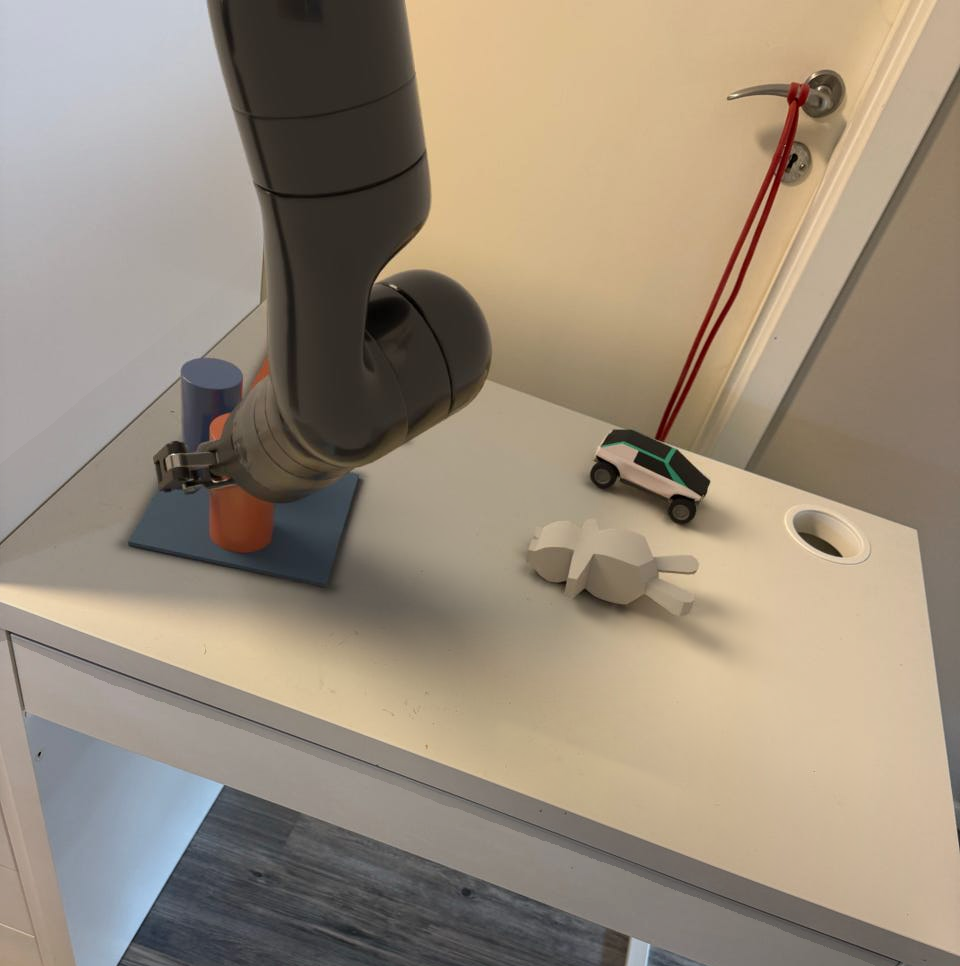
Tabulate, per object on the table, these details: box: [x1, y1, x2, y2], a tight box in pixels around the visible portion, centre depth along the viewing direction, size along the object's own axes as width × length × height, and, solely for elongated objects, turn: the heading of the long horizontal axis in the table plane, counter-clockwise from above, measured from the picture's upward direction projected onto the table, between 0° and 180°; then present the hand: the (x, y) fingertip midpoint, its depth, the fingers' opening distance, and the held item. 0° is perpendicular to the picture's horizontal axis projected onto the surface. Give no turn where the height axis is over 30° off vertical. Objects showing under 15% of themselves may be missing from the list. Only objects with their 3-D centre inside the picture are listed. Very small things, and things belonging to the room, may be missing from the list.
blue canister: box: [180, 357, 244, 477], centre depth 76 cm, size 5×5×9 cm
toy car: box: [589, 428, 712, 525], centre depth 91 cm, size 6×12×5 cm, turn 64°
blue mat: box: [127, 471, 360, 588], centre depth 76 cm, size 16×16×1 cm
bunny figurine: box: [525, 518, 700, 617], centre depth 78 cm, size 10×5×15 cm
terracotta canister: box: [209, 413, 275, 553], centre depth 70 cm, size 5×5×10 cm
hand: (240, 476), depth 71 cm, fingers open, 8 cm apart
